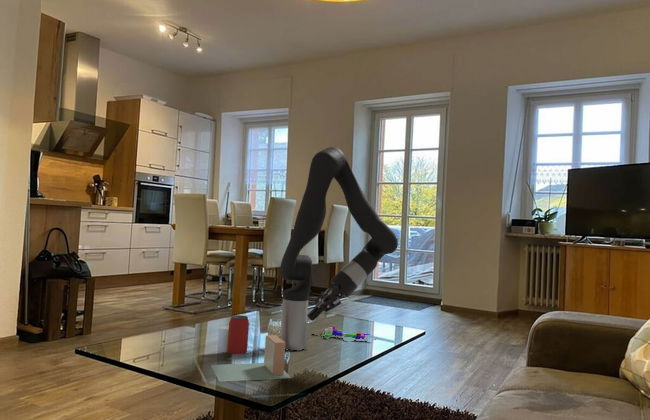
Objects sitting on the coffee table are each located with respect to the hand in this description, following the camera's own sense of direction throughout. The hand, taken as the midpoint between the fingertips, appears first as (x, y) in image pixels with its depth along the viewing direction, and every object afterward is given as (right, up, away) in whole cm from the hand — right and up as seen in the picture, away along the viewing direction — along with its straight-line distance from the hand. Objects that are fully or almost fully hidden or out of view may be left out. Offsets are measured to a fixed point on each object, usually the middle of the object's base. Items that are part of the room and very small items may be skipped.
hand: (309, 318), depth 142 cm
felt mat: (-17, -14, -7) cm, 23 cm away
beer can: (-25, -15, +14) cm, 32 cm away
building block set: (+13, -20, +53) cm, 59 cm away
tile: (-10, -14, -5) cm, 18 cm away
